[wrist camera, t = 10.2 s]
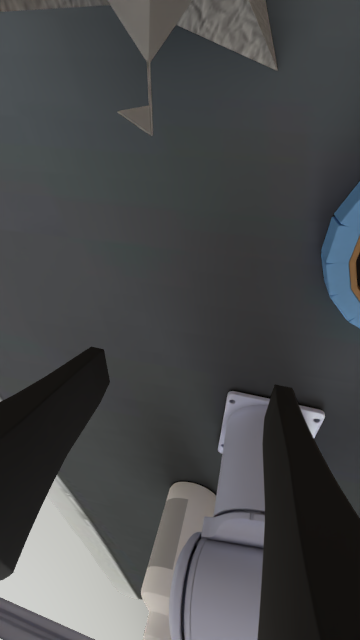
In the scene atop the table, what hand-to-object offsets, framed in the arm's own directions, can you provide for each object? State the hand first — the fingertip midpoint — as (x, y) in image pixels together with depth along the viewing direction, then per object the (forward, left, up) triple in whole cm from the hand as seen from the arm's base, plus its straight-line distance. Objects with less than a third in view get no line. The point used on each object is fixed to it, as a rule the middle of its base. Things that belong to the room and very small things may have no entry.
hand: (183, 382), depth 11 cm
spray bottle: (-32, 0, -10) cm, 33 cm away
